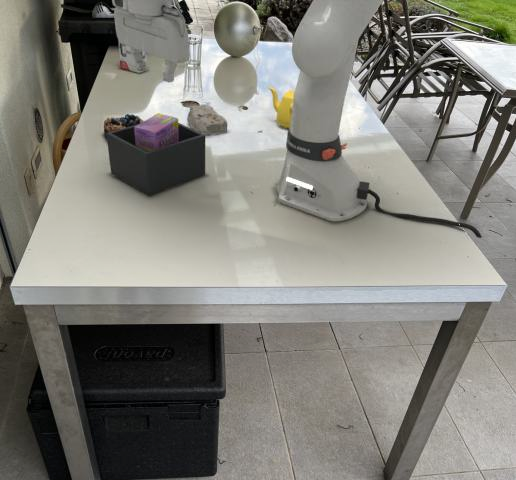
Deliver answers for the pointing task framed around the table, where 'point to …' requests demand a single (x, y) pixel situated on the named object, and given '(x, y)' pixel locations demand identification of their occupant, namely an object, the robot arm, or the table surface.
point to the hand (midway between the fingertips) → (154, 75)
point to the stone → (206, 120)
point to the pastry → (120, 123)
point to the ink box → (129, 58)
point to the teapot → (283, 107)
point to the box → (156, 132)
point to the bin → (156, 160)
